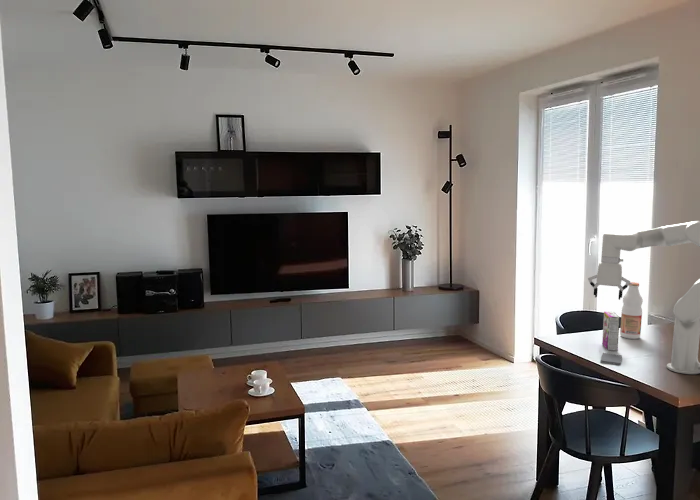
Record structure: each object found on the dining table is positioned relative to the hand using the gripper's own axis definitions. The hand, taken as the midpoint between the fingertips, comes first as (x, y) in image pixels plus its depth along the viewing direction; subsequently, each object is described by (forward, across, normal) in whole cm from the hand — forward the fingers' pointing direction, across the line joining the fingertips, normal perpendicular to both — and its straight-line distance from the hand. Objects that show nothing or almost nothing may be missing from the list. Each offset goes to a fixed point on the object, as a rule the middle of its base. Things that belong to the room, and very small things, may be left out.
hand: (607, 298), depth 262 cm
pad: (+27, -3, +4) cm, 27 cm away
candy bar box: (+27, -2, -17) cm, 32 cm away
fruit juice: (+27, -11, -43) cm, 52 cm away
